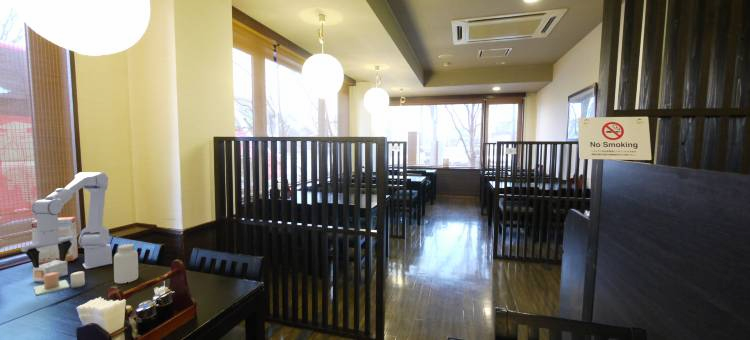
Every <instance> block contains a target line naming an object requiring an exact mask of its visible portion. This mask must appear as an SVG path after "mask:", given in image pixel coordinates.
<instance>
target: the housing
mask: <svg viewBox="0 0 750 340" xmlns="http://www.w3.org/2000/svg"><path fill="white" fill-rule="evenodd" d="M68 269H69V268H68V261H59V260H54V261H51V262H48V263H45V264H39V268H35V267H33V266H32V278H33V279H32V280H33V282H38V283H44V275H46V274H48V273H53V272H58V273H59V279H60V278H63V277H65V276H67V275H69V274H68Z"/></svg>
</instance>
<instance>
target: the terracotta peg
mask: <svg viewBox="0 0 750 340" xmlns="http://www.w3.org/2000/svg"><path fill="white" fill-rule="evenodd" d="M59 281H60V278H59V273H58V272H53V273H48V274H46V275H44V282H43V285H44V288H45V289H51V288H55V287H57V286H59Z"/></svg>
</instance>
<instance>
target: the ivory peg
mask: <svg viewBox="0 0 750 340" xmlns="http://www.w3.org/2000/svg"><path fill="white" fill-rule="evenodd" d="M85 278H86V277H85V271H83V270H82V271H80V270H79V271H76V272H73V273H71V274H70V287H71V288H79V287H83V286H84V285H85Z"/></svg>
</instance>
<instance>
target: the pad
mask: <svg viewBox="0 0 750 340" xmlns="http://www.w3.org/2000/svg"><path fill="white" fill-rule="evenodd" d="M70 287H71V285H70V284H69V283H68V281H67V280H66V279H63V280H59V286H57V287H55V288H51V289H45V288H44V284H42V285H37V286H33V291H34V293H35V296H36V297H37V296H41V295H45V294H46V295H47V294H49V293H53V292H58V291H62V290H66V289H69V288H70Z"/></svg>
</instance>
